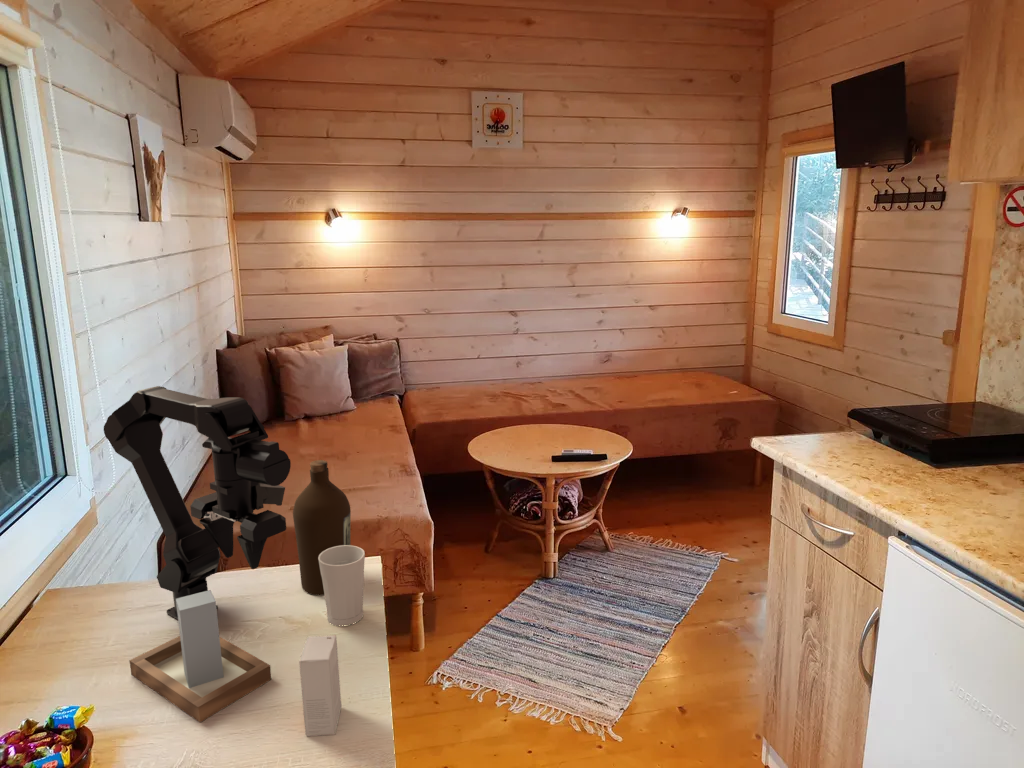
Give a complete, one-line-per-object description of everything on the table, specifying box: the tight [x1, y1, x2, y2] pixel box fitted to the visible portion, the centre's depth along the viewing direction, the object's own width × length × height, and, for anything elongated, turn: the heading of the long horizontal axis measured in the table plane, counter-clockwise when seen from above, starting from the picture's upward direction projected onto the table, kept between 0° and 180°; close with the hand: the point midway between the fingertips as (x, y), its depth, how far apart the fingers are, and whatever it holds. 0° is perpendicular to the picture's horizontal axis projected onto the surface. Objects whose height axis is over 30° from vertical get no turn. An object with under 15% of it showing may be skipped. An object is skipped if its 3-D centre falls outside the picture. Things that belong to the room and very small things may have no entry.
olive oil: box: [292, 459, 352, 596], centre depth 138 cm, size 11×11×25 cm
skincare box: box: [298, 634, 342, 737], centre depth 101 cm, size 6×4×12 cm
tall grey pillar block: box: [176, 589, 224, 688], centre depth 110 cm, size 4×5×13 cm
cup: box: [318, 544, 366, 627], centre depth 128 cm, size 8×8×12 cm
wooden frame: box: [129, 635, 272, 723], centre depth 112 cm, size 19×12×2 cm, turn 54°
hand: (241, 562), depth 122 cm, fingers open, 7 cm apart
